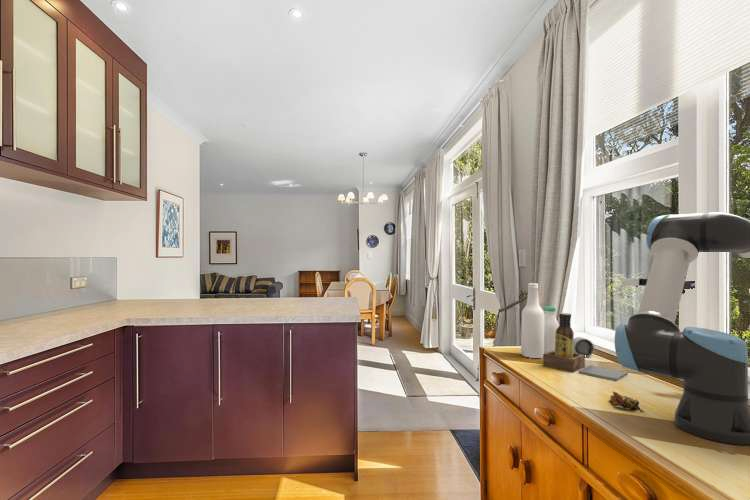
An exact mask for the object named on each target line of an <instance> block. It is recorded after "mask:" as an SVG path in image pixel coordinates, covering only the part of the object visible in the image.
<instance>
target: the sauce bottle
mask: <svg viewBox="0 0 750 500" xmlns="http://www.w3.org/2000/svg"><path fill="white" fill-rule="evenodd" d="M558 315H559V316H558V318H559V322H558V324H559V327H558V328H557V330H556V334H555V356H561V357H566V358H573V346H574V333H575V332H574V330H573V329H572V326H571V319H572V314H571V313H569V312H559V314H558Z"/></svg>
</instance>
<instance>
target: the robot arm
mask: <svg viewBox="0 0 750 500" xmlns="http://www.w3.org/2000/svg"><path fill="white" fill-rule="evenodd" d="M646 230H647V231H646V232H647V233H646V234H647V235H646V237H645V238H646V239H645V240H646V246H647V248H648V250H649V251H650V253H651V254H652V255H653V260H652V263H651V267H650V269H649V274H648V277H647V278H636V277H634V278H629V277H628V278H627V277H626V278H625V277H624V278H621V286H622V287H635V288H638V287H639V286H644V290H643V294H642V297H641V301H640V305H639V307H638V309H637V310H638V311H637V313H635V314H632V315H630V317H629V318H628V322H627V324H625V323H622V324H619V325H617V327H616V328H615V332H614V349H615V355H616V357H617V361H618V363H619V364H620V365H621V366H622V367H623V368H625V369H629V370H633V371H636V372H638V373H640V372H641V373H645V374H646V373H647V374H651V375H656V376H661V377H667V378H671V379H677V380H681V381H683V392H682V395H681V396H680V397H681V398H680V399H679V401H678V404H677V407H676V409H675V412H674V424H675V425H676V426H677V427H678V428H679V429H681V430H683V431H685V432H687V433H689V434H691V435H694V436H698V437H700V438H704V439H707V440H711V441H715V442H719V443H725V444H730V445H742V446H743V445H744V446H747V445H748V446H749V445H750V406H749V363H750V359H749V356H748V355H749V353H748V345H747V343H746V341H744V340H743V339H742V338H740V337H738V336H736V335H733V334H731V333H727V332H723V331H719V330H715V329H709V328H705V327H704V328H703V327H695V326H685V327H684V329H682V331H681V330H680V328H679V326H678V325H677V324H676V319H677V315H678V311H679V308H680V302H681V299H682V295H685V294H684V293H685V290H684V289H690V288H691V289H693V288H695V284H694V283H695V281H685V279H686V275H687V273H688V270H689V267H690V266H689V265H690V263H692V262H694V261H695V260H697V259H698V253H699V252H733V253H736V254H737V255H738V256H740V257H743V258H750V220H749V219H748V218H744V217H741V216H739V215H735V214H733V213H728V212H719V211H716V212H715V211H714V212H712V211H711V212H701V213H700V212H699V213H696V212H695V213H682V214H671V213H670V214H666V215H660V216H656V217H654V218H653V219H652V220H650V223H649V225H648V228H647V229H646Z"/></svg>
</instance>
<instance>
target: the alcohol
mask: <svg viewBox="0 0 750 500" xmlns="http://www.w3.org/2000/svg"><path fill="white" fill-rule="evenodd" d="M527 288H528V289H527V297H526V299H527V300H526V305H525V306H524V308H523V309H522V310H521V323H520V324H521V325H520V326H521V329H520V330H521V332H520V333H521V334H520V339H521V341H520V343H521V344H520V345H521V347H520V351H521V352H520V353H521V356H522V355H523V356H525V357H524V358H526V357H529V358H528V359H531V358H541V359H543V354H544V309H542V307H541V306H540V298H539V284H538V283H536V282H529V283H528V284H527ZM523 356H522V357H523Z"/></svg>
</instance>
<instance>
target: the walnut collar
mask: <svg viewBox="0 0 750 500" xmlns="http://www.w3.org/2000/svg"><path fill="white" fill-rule="evenodd" d="M542 361H543V362H542V365H543V367H546V368H551V369H555V370H560V371H565V372H569V373H575V372H577V371H579V370H582V369H584V368H586V366H585V365H586V364H585V362H586V359H585V355H582V354H576V353H573V358H566V357H561V356H555V350H554V351H551V352H548V353H545V354H543V358H542Z"/></svg>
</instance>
